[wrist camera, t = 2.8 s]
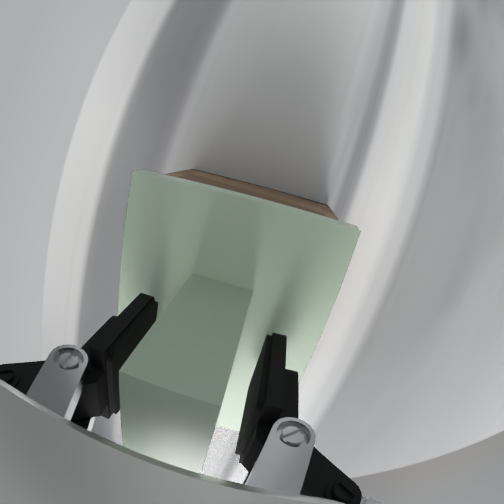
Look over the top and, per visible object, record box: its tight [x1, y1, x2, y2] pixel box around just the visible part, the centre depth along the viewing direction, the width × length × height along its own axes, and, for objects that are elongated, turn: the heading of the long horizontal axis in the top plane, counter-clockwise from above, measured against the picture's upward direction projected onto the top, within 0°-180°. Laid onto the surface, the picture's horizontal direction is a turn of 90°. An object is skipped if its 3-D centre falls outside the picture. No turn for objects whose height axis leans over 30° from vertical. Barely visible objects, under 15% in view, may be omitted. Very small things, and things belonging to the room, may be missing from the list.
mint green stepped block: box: [118, 170, 361, 474], centre depth 11 cm, size 12×9×8 cm
